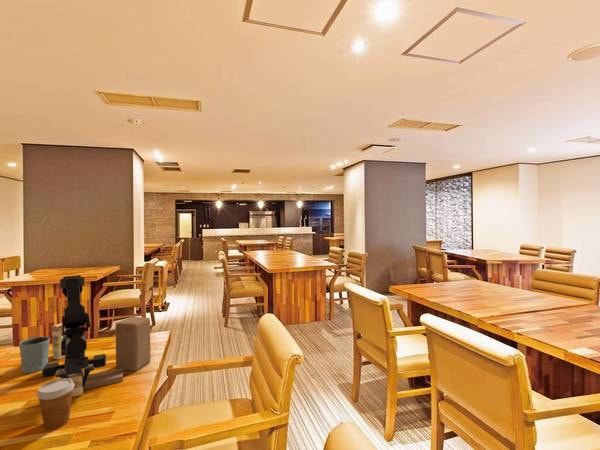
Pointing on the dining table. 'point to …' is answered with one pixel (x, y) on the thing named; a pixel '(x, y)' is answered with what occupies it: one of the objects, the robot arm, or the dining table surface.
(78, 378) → the block
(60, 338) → the candy box
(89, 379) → the walnut board
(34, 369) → the grey embossed cup
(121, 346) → the wooden block
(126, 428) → the dining table surface
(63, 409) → the disposable coffee cup
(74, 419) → the dining table surface
